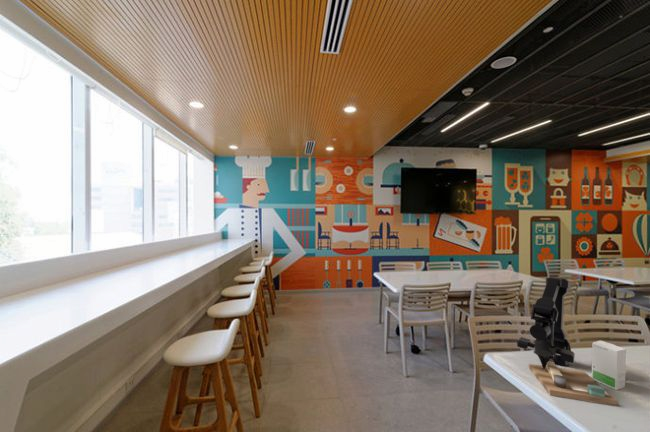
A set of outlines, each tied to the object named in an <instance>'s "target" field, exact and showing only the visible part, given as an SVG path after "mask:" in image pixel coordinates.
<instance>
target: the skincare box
mask: <svg viewBox="0 0 650 432" xmlns="http://www.w3.org/2000/svg"><path fill="white" fill-rule="evenodd" d="M591 347H592V349H591V376H590V377H591V378H592V379H593V380H594V381H596V382H597V383H598V384H602V385H603V386H607V387H609V388H611V389H613V390H615V391H618V390H621V389H623V388H626V371H627V369H626V366H627V365H626V364H627V363H626V362H627V349H626V348H624V347H621V346H618V345H616V344H614V343H609V342H606V341H604V340H602V339H601V340H597V341H593V342H592V345H591Z"/></svg>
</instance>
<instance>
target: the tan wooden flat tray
mask: <svg viewBox="0 0 650 432" xmlns="http://www.w3.org/2000/svg"><path fill="white" fill-rule="evenodd" d="M557 368H558V370H559V371H560V373H561V374H562V376H563V377H565V378H566V388H561V387H558V386H556V385H555V384H554V381H553V379H552V377H551V375H550V374H549V372H548V370H547V368H546V367H545V369H543V366H542V364H541V365H540V364H532V363H528V369H529V371H530V372H531V373H532V374H533V375H534V377H535V378H536V379H537V381H538V382H539V383H540V385H542V387H543V388H544V390H545V391H546V393H548V394H549V396H553V397H557V398H558V397H560V398H566V399H572V400H578V401H584V402H589V403H597V404H602V405H603V404H604V405H608V406H614V407H617V406H618V401H617V399H616V398H615V397H614V396H613V395H611V393H609V392H608V391H607V390H606V389H604V387H603V386H601V385H600V383H599V382H597V381H595V380H593V379H592V378H591V377H592V376H590V375H589V374H588V373H586V372H585V371H584V370H579V369H578V370H577V369H570V368H563V367H557Z"/></svg>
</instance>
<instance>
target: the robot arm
mask: <svg viewBox="0 0 650 432" xmlns="http://www.w3.org/2000/svg"><path fill="white" fill-rule="evenodd" d="M571 286H572V283H571V280H568V278H564V277H557V276H549V277H546V278H545V287H544V290H543V293H542V295H541V297H540V298H538V299H536V301H535V303H534V304H533V305H532V310H531V314H530V319H531V320H533V321H535V322H534V323H533V324H532V325H531V326H530V328H529V334H530V335H531V336H532V338H534V339H535V340H534V343H533V342H531V339H530V338H526V337H522V336H521V337H519V338H518V340H517V341H516V342H517V343H516V347H518V348H521V349H525V350H526V349H528V347H529V348H532V349H533V354H535V355H536V356H537V357H538V359H539V361H540V363H541V365H542V366H543V369H545V367H546V365H547V363H548V361H549V360H550V359H552V360H553V361H554V363H555V365H556V366H557V365H558V366H566V367H570V364H574V361H575V358H576V357H575V355H576V354H575V353H574V351H572V348H571V343H570V342H569V339H568V335H567V333H566V331H565V330H564V312H565V311H564V310H565V309H564V308H565V305H564V304H565V297H566V296H567V295H568V294H569V292H570V290H571V288H572V287H571ZM569 363H570V364H569Z"/></svg>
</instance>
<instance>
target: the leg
mask: <svg viewBox="0 0 650 432" xmlns="http://www.w3.org/2000/svg"><path fill="white" fill-rule="evenodd" d="M546 368H547V370H548V372H549V374H550V375H551V377H552V379H553V381H554V384H555V385H556V386H558V387H561V388H566V378H565V377H563V376H562V374H561V373H560V371H559V370H558V368H559V367H558V366H557V364H555V363H554V361H553V360H552V359H550V360H549V361H548V363H547V365H546Z"/></svg>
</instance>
